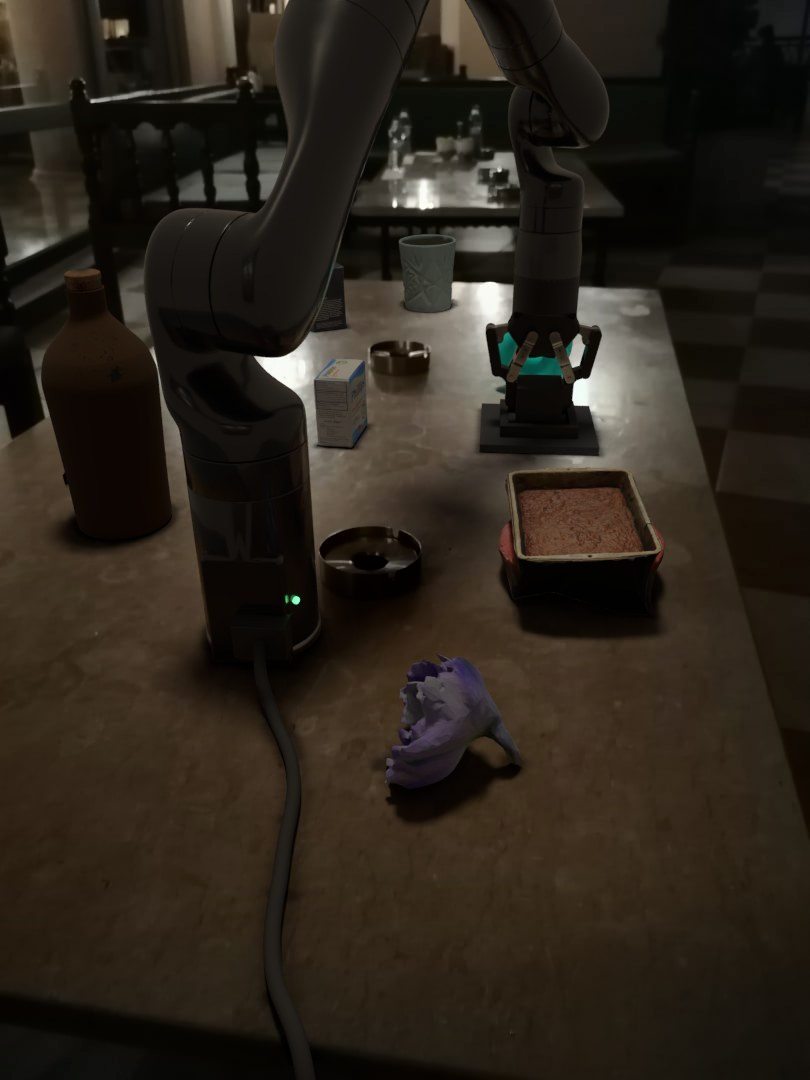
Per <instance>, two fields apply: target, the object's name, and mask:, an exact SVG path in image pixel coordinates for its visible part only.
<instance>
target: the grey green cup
mask: <svg viewBox="0 0 810 1080" xmlns="http://www.w3.org/2000/svg"><path fill="white" fill-rule="evenodd" d="M456 244H457V239H456V238H455V237H453V236H450V235H445V234H433V233H432V234H431V233H430V234H429V233H428V234H414V235H408V236H405V237H402V238H400V239H399V240H398V248H399V249H398V250H399V256H400V264H401V268H402V273H401V274H402V275H401V276H402V285H403V288H404V289H403V295H404V296H403V299H404V306H405V307H404V308H406V309H407V310H408V311H411V312H417V313H440V312H445V311H447V310H450V308H451V307H452V297H453V296H452V295H453V281H454V265H455V254H456V246H457V245H456Z"/></svg>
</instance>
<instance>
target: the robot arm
mask: <svg viewBox="0 0 810 1080" xmlns="http://www.w3.org/2000/svg"><path fill="white" fill-rule="evenodd" d="M430 1H431V0H287V3H286V5H285V8H284V10H283V12H282V14H281V16H280V19H279V22H278V25H277V28H276V32H275V36H274V41H273V50H272V51H273V68H274V69H273V70H274V76H275V82H276V87H277V91H278V97H279V100H280V104H281V109H282V112H283V117H284V120H285V126H286V130H287V131H286V132H287V145H286V150H285V155H284V158H283V161H282V165H281V167H280V170H279V173H278V176H277V178H276V180H275V182H274V185H273V187H272V190H271V192H270V194H269V196H268V198H267V200H266V202H265V203H264V204H263V206H262V207H261V208H260V209H259V210H258V211H257V212H253V211H241V210H233V209H231V210H230V209H220V208H219V209H217V208H206V207H185V208H179V209H176V210H174V211H172V212H169V213H168V214H166V215H165V216H164V217H163V218H161V220H160V221H159V222H158V223H157V224H156V226H155V227H154V229H153V231H152V232H151V235H150V237H149V240H148V242H147V246H146V250H145V254H144V262H143V293H144V294H143V295H144V302H145V303H144V304H145V310H146V315H147V321H148V322H147V323H148V327H149V331H150V337H151V342H152V347H153V351H154V356H155V360H156V361H155V362H156V366H157V370H158V377H159V382H160V386H161V392H162V397H163V399H164V403H165V406H166V409H167V411H168V413H169V415H170V417H171V418H172V419H173V421H174V423H175V424H176V426H177V428H178V431H179V439H180V444H181V450H182V451H181V452H182V458H183V465H184V471H185V473H184V474H185V478H186V487H187V496H188V504H189V510H190V518H191V524H192V532H193V538H194V546H195V553H196V554H195V555H196V560H197V567H198V576H199V583H200V591H201V598H202V605H203V611H204V618H205V633H206V640H207V643H208V646H209V648H210V649H211V652H212V659H213V661H214V662H217V663H237V664H253V673H254V681H255V685H256V690H257V692H258V695H259V699H260V701H261V704H262V707H263V709H264V712H265V716H266V718H267V721H268V723H269V726H270V729H271V731H272V733H273V735H274V738H275V741H276V743H277V744H278V747H279V749H280V751H281V755H282V757H283V760H284V765H285V772H286V795H285V803H284V808H283V813H282V816H281V817H282V818H281V823H280V827H279V832H278V835H277V841H276V847H275V854H274V855H275V856H274V862H273V870H272V875H271V882H270V886H269V892H268V896H267V897H268V898H267V903H266V910H265V916H264V923H263V924H264V925H263V937H262V939H263V941H262V942H263V943H262V947H263V949H262V951H263V967H264V976H265V980H266V987H267V989H268V993H269V997H270V999H271V1002H272V1005H273V1007H274V1010H275V1011H276V1012H275V1013H276V1015H277V1017H278V1020H279V1022H280V1024H281V1026H282V1029H283V1032H284V1034H285V1038H286V1040H287V1044H288V1048H289V1052H290V1056H291V1060H292V1066H293V1072H294V1078H295V1080H317V1079H316V1074H315V1067H314V1063H313V1056H312V1053H311V1049H310V1043H309V1039H308V1037H307V1033H306V1030H305V1027H304V1024H303V1022H302V1019H301V1016H300V1014H299V1012H298V1009H297V1006H296V1005H295V1002H294V1000H293V998H292V996H291V994H290V991H289V989H288V988H289V987H288V986H287V983H286V978H285V976H284V971H283V962H282V949H281V946H282V944H281V942H282V941H281V940H282V939H281V938H282V937H281V936H282V923H283V914H284V906H285V901H286V896H287V895H286V894H287V890H288V889H287V888H288V883H289V882H288V881H289V877H290V870H291V869H290V868H291V859H292V851H293V844H294V838H295V833H296V828H297V823H298V818H299V813H300V807H301V799H302V798H301V797H302V778H301V777H302V776H301V768H300V761H299V758H298V753H297V750H296V748H295V745H294V743H293V741H292V739H291V738H292V737H291V736H290V734H289V732H288V730H287V728H286V725H285V723H284V720H283V718H282V715H281V713H280V710H279V708H278V705H277V702H276V699H275V697H274V694H273V691H272V688H271V685H270V681H269V676H268V670H267V665H275V666H277V665H279V666H289V665H291V663H292V660H293V658H294V657H296V656H297V655H299V654H301V653H303V652H305V651H306V650H308V649H309V648H310V647H312V645H314V643H315V642H316V641H317V640H318V638H319V636H320V634H321V631H322V617H321V612H320V607H319V605H320V604H319V588H318V578H317V562H316V561H317V560H316V549H315V548H316V547H315V533H314V531H315V530H314V515H313V500H312V499H313V498H312V485H311V469H310V468H311V467H310V466H311V465H310V452H309V451H310V450H309V437H308V419H307V411H306V407H305V404H304V402H303V400H302V397H301V396H300V395H299V394H297V392H296V391H294V390H293V389H292V388H291V387H289V386H287V385H286V384H284V383H283V382H282V381H280V380H278V379H277V378H276V377H274V376H273V375H272V374H270V373H269V372H268V371H267V370H266V369H265V368H264V367H263V366H262V365H261V363H259V361H258V360H257V359H256V357H257V358H267V359H268V358H269V359H270V358H271V359H275V358H276V359H277V358H283V357H286V356H288V355H289V354H291V353H294V351H296V350H297V349H298V348H299V347H300V346H301V345H302V344H303V342H304V341H305V340H307V337H308V335H310V333H311V331H312V330H311V329H312V327H313V325H314V323H315V321H316V319H317V316H318V314H319V312H320V309H321V307H322V304H323V301H324V298H325V295H326V292H327V289H328V285H329V282H330V279H331V275H332V272H333V269H334V265H335V262H336V263H337V258H338V254H339V251H340V247H341V243H342V240H343V237H344V234H345V233H344V232H345V230H346V227H347V222H348V218H349V214H350V212H351V209H352V205H353V202H354V199H355V195H356V192H357V190H358V187H359V184H360V181H361V178H362V175H363V172H364V169H365V166H366V164H367V160H368V158H369V155H370V153H371V150H372V147H373V145H374V143H375V140H376V137H377V134H378V132H379V129H380V127H381V123H382V122H383V119H384V116H385V114H386V112H387V108H388V106H389V104H390V102H391V100H392V97H393V96H394V94H395V91H396V89H397V87H398V84H399V83H400V80H401V78H402V75H403V73H404V70H405V69H406V66H407V62H408V60H409V58H410V55H411V54H412V53H411V52H412V50H413V48H414V45H415V43H416V40H417V37H418V35H419V32H420V28H421V26H422V24H423V23H422V22H423V20H424V17H425V14H426V11H427V9H428V7H429V4H430ZM464 2H465V4H466V5H467V7H468V9H469V10H470V13H471V14H472V16H473V18H474V19H475V22H476V24H477V26H478V28H479V29H480V32H481V34H482V36H483V38H484V40H485V42H486V44H487V46H488V49H489V51H490V53H491V55H492V57H493V59H494V60H495V63H496V65H497V68H498V69H499V71H500V73H501V75H502V76H503V77H504V79H505V80H506V81H507V82H509V84H511V85H512V86H515V87H514V89H513V91H512V93H511V95H510V99H509V101H508V107H507V126H508V133H509V138H510V143H511V147H512V152H513V158H514V162H515V169H516V174H517V179H518V184H519V190H520V192H519V193H520V194H519V213H518V214H519V216H518V217H519V218H518V231H517V237H516V243H515V249H514V260H513V269H514V270H513V287H512V288H513V289H512V306H511V307H512V309H511V315H510V318H509V319H508V321H507V322H506V323H500V324H495V323H494V322H489V323H487V324H486V326H485V340H486V346H487V351H488V352H487V353H488V359H489V365H490V370H491V375H492V376H493V377H495V378H501V379H502V378H503V379H504V380H505V381H506V382H505V381H504V380H503V379H502V380H503V381H504V382H505V391H504V399H505V403H506V406H510V411H516V394H517V384H518V381H517V376H518V374H519V372H520V370H521V368H522V367H523V366H524V364H525V362H526V360H527V358H528V356H529V358H537V357H546V358H555V357H557V360H558V363H559V366H560V368H561V370H562V373H563V376H562V378H561V381H562V385H563V389H564V394H563V406H562V412H566V408H570V407H571V405H572V401H573V396H574V395H573V394H574V385H575V383H576V382H577V381H579V380H582V379H583V380H587V379H589V378H590V377H591V375H592V371H593V368H594V364H595V362H596V359H597V355H598V351H599V348H600V344H601V341H602V338H603V333H602V330H601V327H600V326H599V325H597V324H594V325H591V326H589V325H585V324H580V321H579V319H578V303H579V294H580V293H579V292H580V283H581V271H582V270H581V268H582V256H583V241H582V234H583V233H582V231H583V218H584V205H585V193H586V187H585V186H586V185H585V181H584V179H583V177H582V176H581V175H579V174H578V173H576V172H574V171H571V170H569V169H566V168H564V167H562V166H560V165H559V164H558V162H557V161H556V158H555V156H554V152H553V149H552V148H563V149H584V148H588V147H590V146H592V145H593V144H595V143H596V142H598V140H599V139H600V138H601V136H602V135H603V134H604V132H605V130H606V128H607V125H608V122H609V119H610V99H609V94H608V92H607V87H606V85H605V83H604V81H603V78H602V77H601V75H600V74H599V72H598V71H597V69H596V68H595V66H594V65H593V64H592V63H591V61H590V60H589V59H588V57H586V55H585V54H584V53H583V51H582V50H581V49H580V47H579V46H578V44H576V43H575V41H574V40H573V39H572V38H571V37H570V36H569V35H568V34H567V33H566V31H565V28H564V25H563V23H562V20H561V18H560V15H559V12H558V9H557V7H556V5H555V2H554V0H464ZM506 333H509V334H510V335H511V337H512V338H513V340H514V341H515V343H516V344H517V348H516V350H515V352H514V355H513V358H512V360H511V362H510V364H509V366H506V365H504V364H501V357H500V351H499V345H498V344H500V343H502V342H503V340H504V335H505V334H506ZM578 335H580V336H581V342H582V343H581V344H583V345H584V348H583V351H582V356H581V359H580V362H579V365H577V366H574V367H573V365H572V363H571V360H570V356H569V357H568V354H567V351H566V348H567V347H568V346H569V344H570V343H571V342H572V341H574V340H575V339H576V337H577V336H578Z"/></svg>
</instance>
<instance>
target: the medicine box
mask: <svg viewBox="0 0 810 1080" xmlns="http://www.w3.org/2000/svg"><path fill="white" fill-rule="evenodd" d="M366 380H367V379H366V361H365V360H363V359H353V358H332V359H331V360H330V361H329V363H327V365H326V366H325V367H324V368H323V369H322V370H321V371H320V372H319V373H318V374H317V376H315V378H314V379H313V393H314V407H315V419H316V420H315V421H316V432H317V444H318V446H322V447H323V446H325V447H337V448H354V445H355V443H357V441H358V439H359V437H360V436H361V434H362V433H363V431H364V430H365V428H366V427H367V425H368V405H367V404H368V403H367V401H368V400H367V381H366Z"/></svg>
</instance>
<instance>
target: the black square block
mask: <svg viewBox="0 0 810 1080" xmlns="http://www.w3.org/2000/svg"><path fill="white" fill-rule="evenodd" d="M517 381H518V384H517V394H516V411H515V419H516V420H532V421H561V418H562V406H563V394H564V389H563V385H562V381H561V375H528V374H518V376H517Z"/></svg>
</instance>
